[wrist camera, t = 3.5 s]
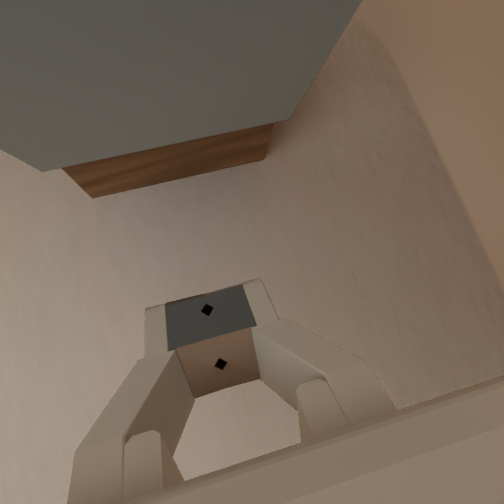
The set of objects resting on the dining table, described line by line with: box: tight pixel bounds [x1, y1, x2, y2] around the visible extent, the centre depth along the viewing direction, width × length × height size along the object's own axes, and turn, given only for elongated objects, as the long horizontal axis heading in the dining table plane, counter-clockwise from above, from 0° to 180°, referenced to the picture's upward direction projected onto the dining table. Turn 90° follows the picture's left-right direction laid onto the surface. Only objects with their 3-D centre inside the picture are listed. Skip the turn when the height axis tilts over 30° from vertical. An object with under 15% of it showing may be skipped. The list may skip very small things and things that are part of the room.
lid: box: [0, 0, 362, 172], centre depth 14 cm, size 17×15×1 cm
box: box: [62, 123, 273, 198], centre depth 27 cm, size 16×14×8 cm
